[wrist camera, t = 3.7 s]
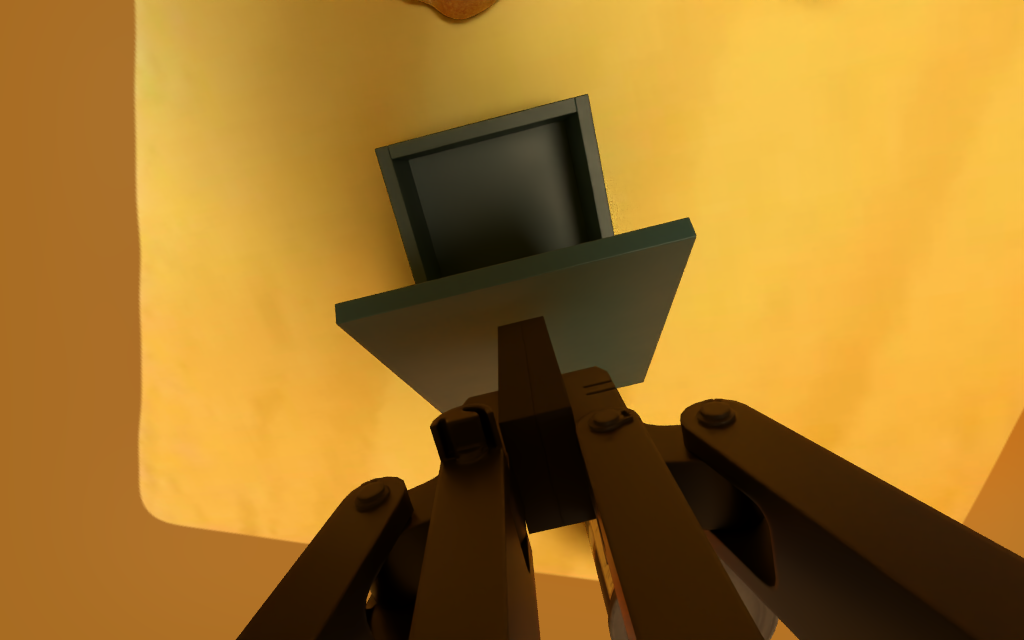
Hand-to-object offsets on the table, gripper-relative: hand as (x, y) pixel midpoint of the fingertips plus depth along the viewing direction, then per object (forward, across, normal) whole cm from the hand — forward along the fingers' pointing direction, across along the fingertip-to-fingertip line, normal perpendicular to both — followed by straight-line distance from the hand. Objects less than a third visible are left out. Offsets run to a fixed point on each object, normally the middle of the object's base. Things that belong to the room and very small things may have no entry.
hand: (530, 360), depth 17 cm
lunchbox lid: (+9, 0, -3) cm, 9 cm away
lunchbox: (+23, 0, 0) cm, 23 cm away
